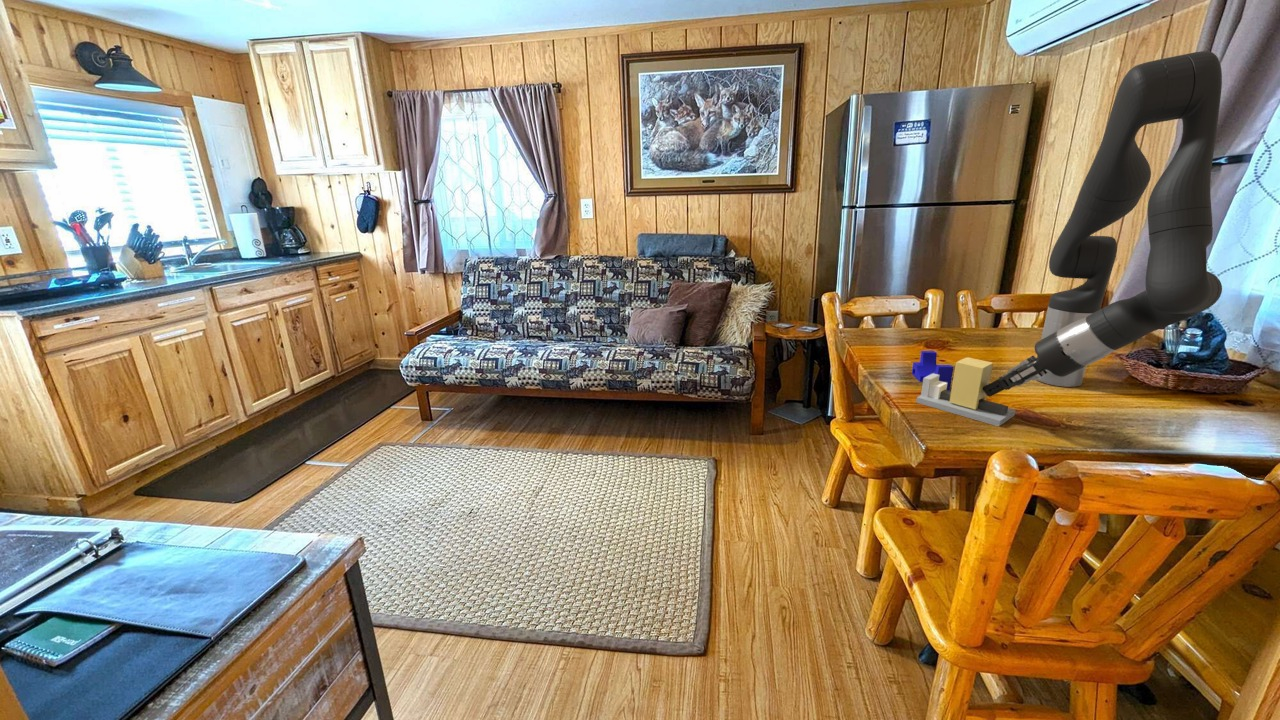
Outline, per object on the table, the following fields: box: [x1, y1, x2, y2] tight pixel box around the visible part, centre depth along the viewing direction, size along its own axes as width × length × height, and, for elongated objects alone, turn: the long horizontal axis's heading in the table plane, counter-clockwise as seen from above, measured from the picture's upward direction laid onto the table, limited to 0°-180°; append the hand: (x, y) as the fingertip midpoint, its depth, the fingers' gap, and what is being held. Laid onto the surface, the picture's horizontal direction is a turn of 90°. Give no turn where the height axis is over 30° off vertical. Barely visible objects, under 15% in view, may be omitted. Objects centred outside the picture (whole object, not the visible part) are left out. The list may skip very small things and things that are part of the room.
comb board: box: [915, 373, 1016, 427], centre depth 113 cm, size 8×16×5 cm, turn 38°
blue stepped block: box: [911, 350, 955, 391], centre depth 128 cm, size 12×4×6 cm, turn 171°
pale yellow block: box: [949, 356, 994, 409], centre depth 111 cm, size 5×5×9 cm
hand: (986, 391), depth 109 cm, fingers closed
